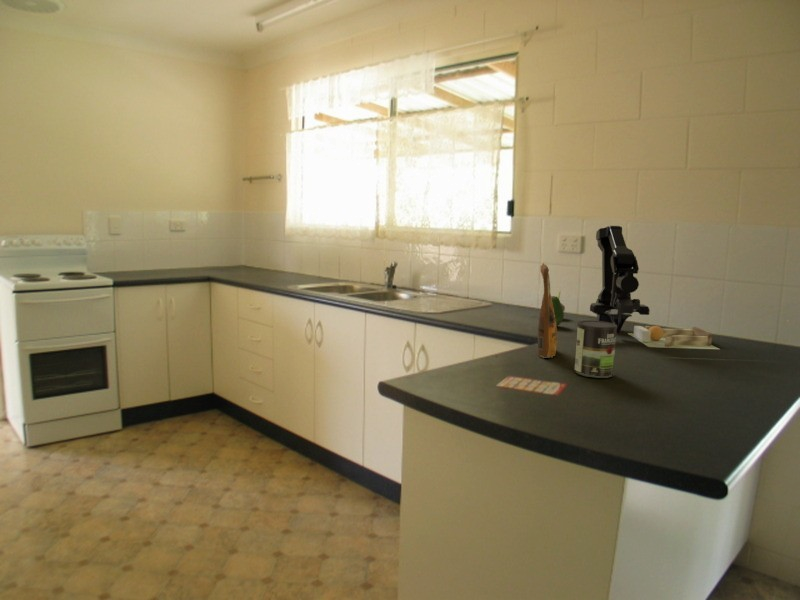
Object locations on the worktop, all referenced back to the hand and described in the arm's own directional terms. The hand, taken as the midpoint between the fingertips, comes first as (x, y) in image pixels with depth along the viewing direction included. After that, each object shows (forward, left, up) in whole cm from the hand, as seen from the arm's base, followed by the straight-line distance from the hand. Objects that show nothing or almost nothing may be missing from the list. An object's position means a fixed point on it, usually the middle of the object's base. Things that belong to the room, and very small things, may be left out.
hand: (617, 333), depth 202 cm
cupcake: (-14, +39, -3) cm, 42 cm away
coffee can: (-20, -45, -3) cm, 49 cm away
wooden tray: (+21, 0, -2) cm, 21 cm away
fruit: (-18, +21, -3) cm, 28 cm away
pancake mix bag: (-29, -23, -3) cm, 37 cm away
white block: (+8, 0, -2) cm, 9 cm away
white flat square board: (+18, 0, -2) cm, 19 cm away
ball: (+13, 0, 0) cm, 13 cm away
